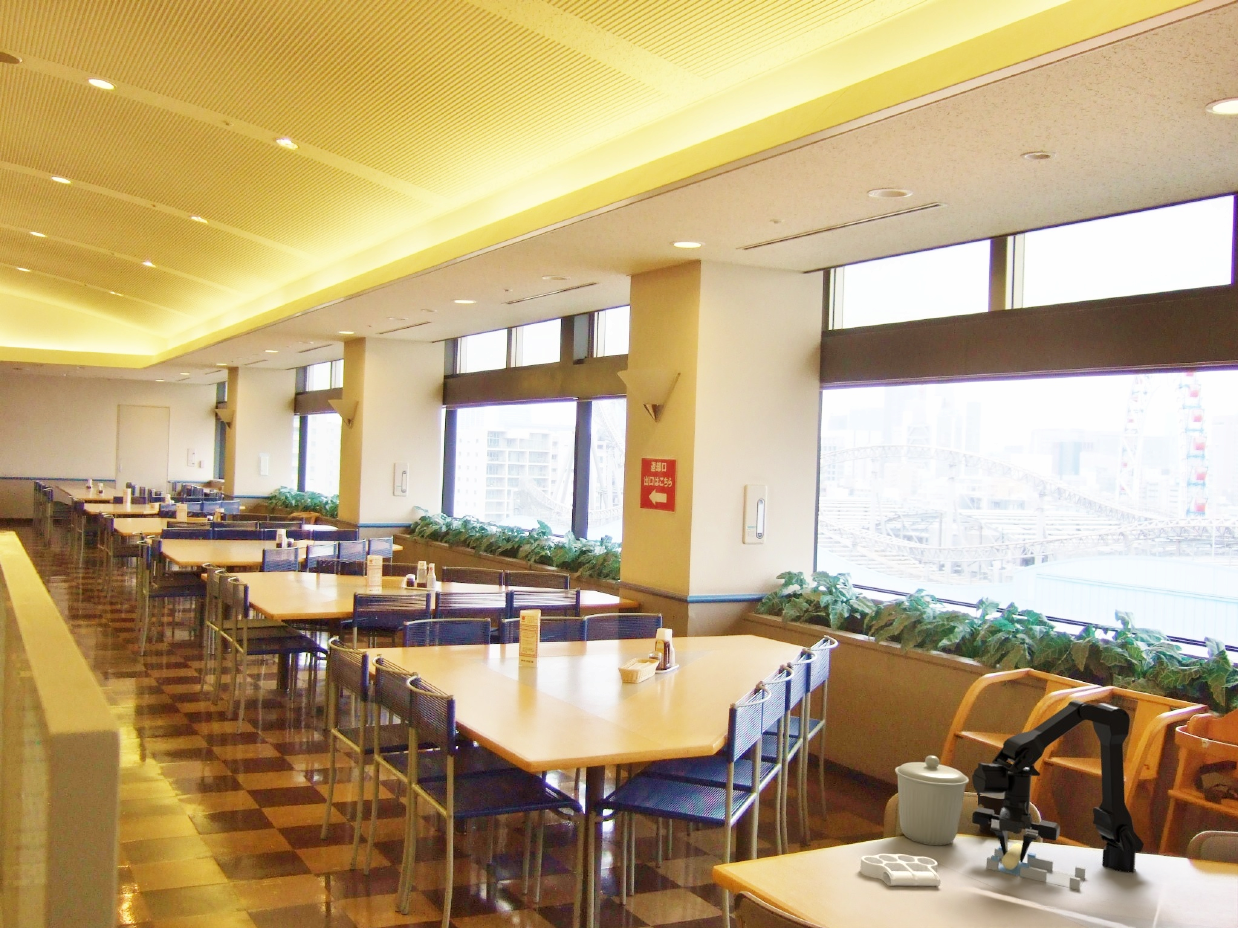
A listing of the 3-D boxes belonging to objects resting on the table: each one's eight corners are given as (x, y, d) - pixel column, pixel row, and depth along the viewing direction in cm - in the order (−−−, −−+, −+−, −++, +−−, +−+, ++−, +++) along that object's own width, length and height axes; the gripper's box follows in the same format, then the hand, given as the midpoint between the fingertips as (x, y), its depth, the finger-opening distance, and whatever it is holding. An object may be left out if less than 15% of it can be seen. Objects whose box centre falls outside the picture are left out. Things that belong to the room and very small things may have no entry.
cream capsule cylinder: (1010, 855, 249) (1011, 841, 250) (1024, 858, 248) (1025, 844, 248) (1000, 869, 239) (1000, 855, 239) (1014, 872, 237) (1015, 858, 237)
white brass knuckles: (876, 889, 227) (851, 865, 242) (953, 890, 230) (924, 866, 244) (877, 873, 227) (852, 850, 242) (954, 874, 230) (925, 851, 245)
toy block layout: (1084, 881, 240) (1085, 864, 241) (1078, 894, 232) (1079, 877, 232) (995, 860, 251) (996, 844, 251) (985, 872, 242) (986, 855, 242)
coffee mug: (1012, 838, 269) (1014, 800, 270) (977, 834, 271) (980, 795, 272) (1005, 825, 281) (1007, 788, 281) (971, 821, 283) (973, 784, 283)
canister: (980, 846, 262) (985, 762, 262) (931, 854, 252) (936, 767, 253) (924, 824, 277) (929, 744, 278) (876, 831, 267) (881, 749, 268)
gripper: (968, 792, 242) (964, 859, 242) (1054, 809, 233) (1050, 879, 232) (979, 782, 252) (975, 847, 251) (1061, 798, 242) (1058, 866, 242)
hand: (1013, 859), depth 244 cm, fingers closed on cream capsule cylinder, 3 cm apart
